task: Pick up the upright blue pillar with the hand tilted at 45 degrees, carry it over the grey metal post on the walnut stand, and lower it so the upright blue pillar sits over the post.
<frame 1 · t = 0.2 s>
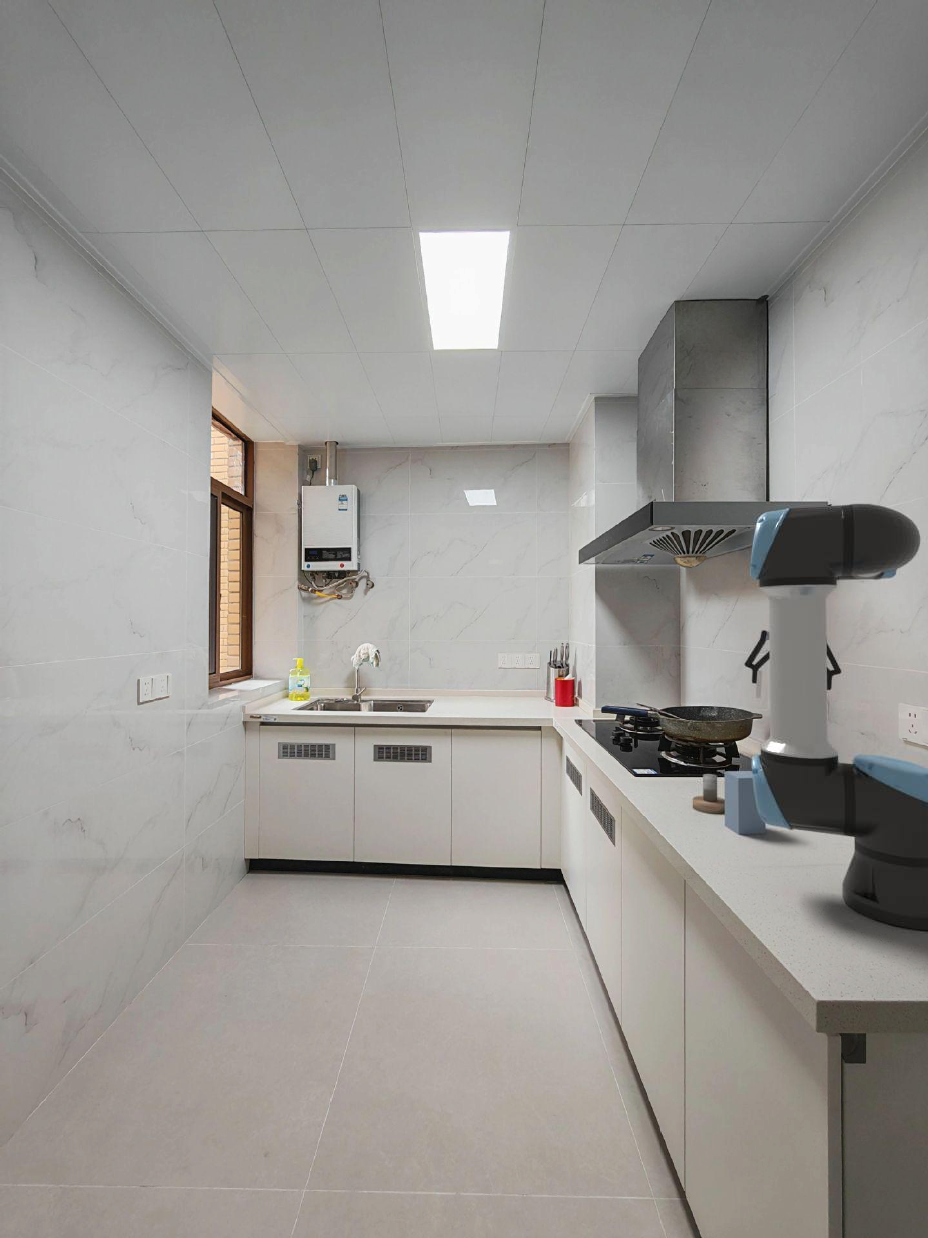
hand: (789, 701, 147), 27 cm above the worktop, tool pointing down, fingers open, 13 cm apart
upright blue pillar: (744, 829, 136), on the worktop
post stand: (710, 808, 151), on the worktop
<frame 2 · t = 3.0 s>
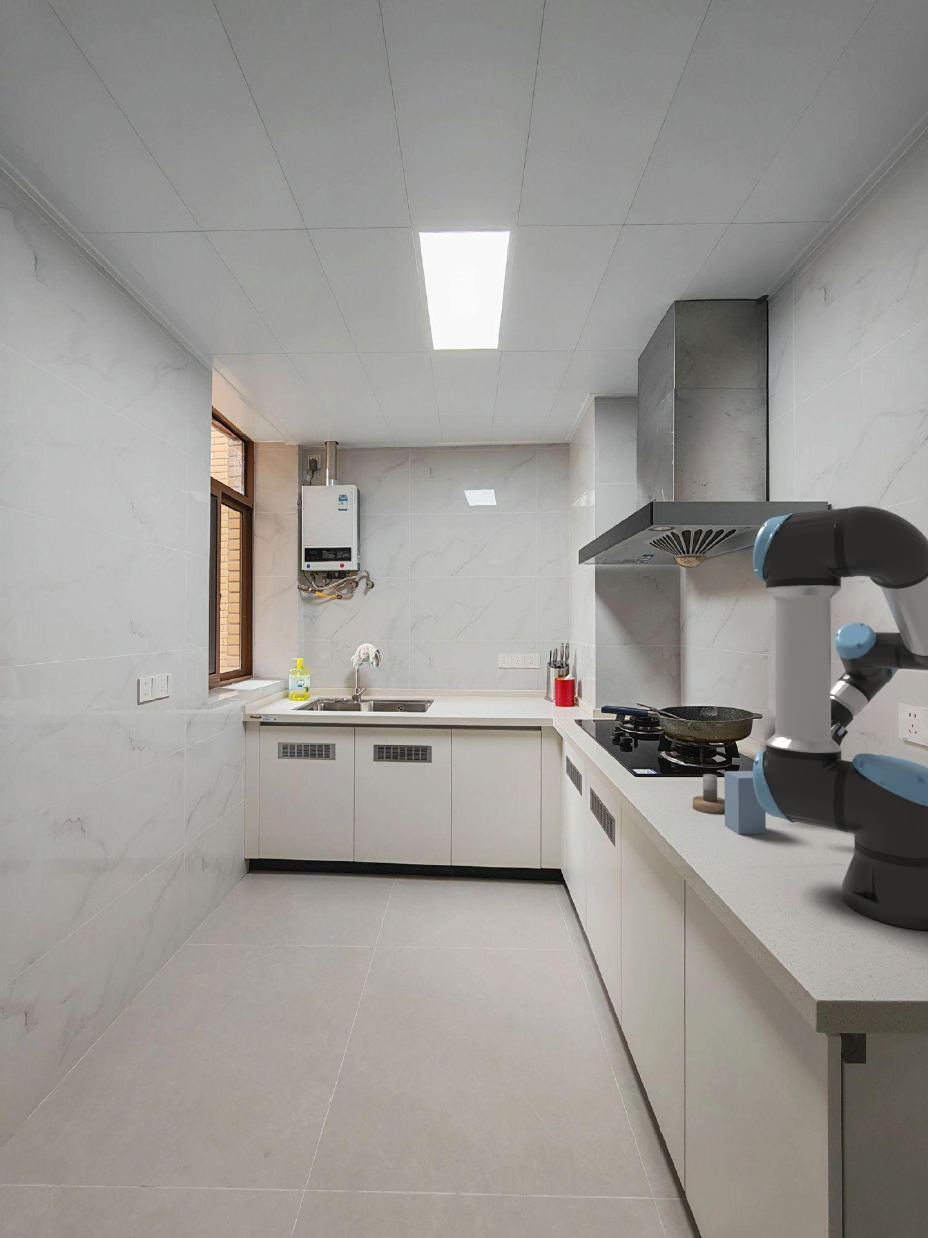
hand: (774, 776, 137), 11 cm above the worktop, tool tilted 45°, fingers open, 13 cm apart
nothing on the worktop moved.
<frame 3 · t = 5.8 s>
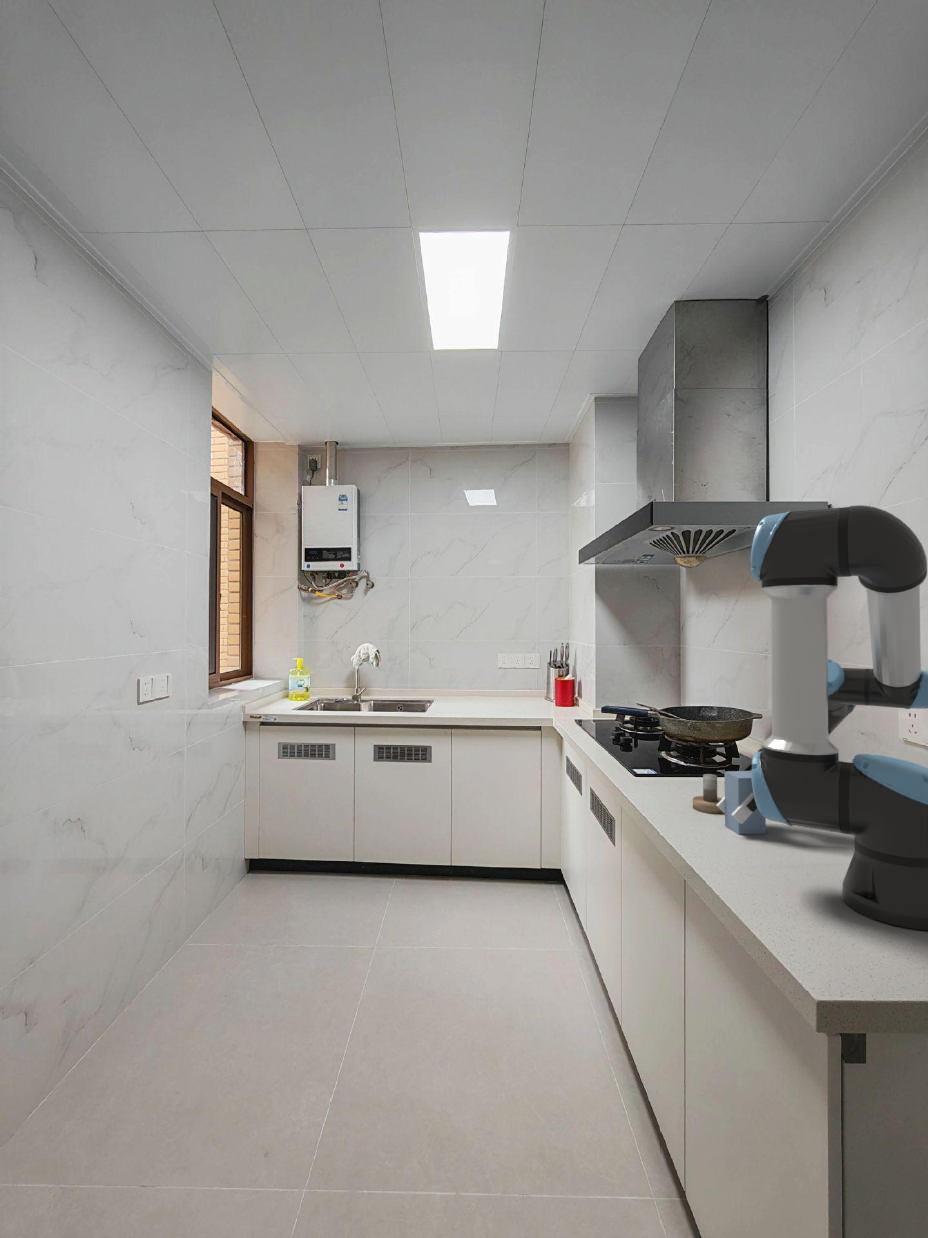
hand: (728, 814, 136), 3 cm above the worktop, tool tilted 45°, fingers closed on upright blue pillar, 6 cm apart
upright blue pillar: (744, 829, 136), on the worktop, touching gripper
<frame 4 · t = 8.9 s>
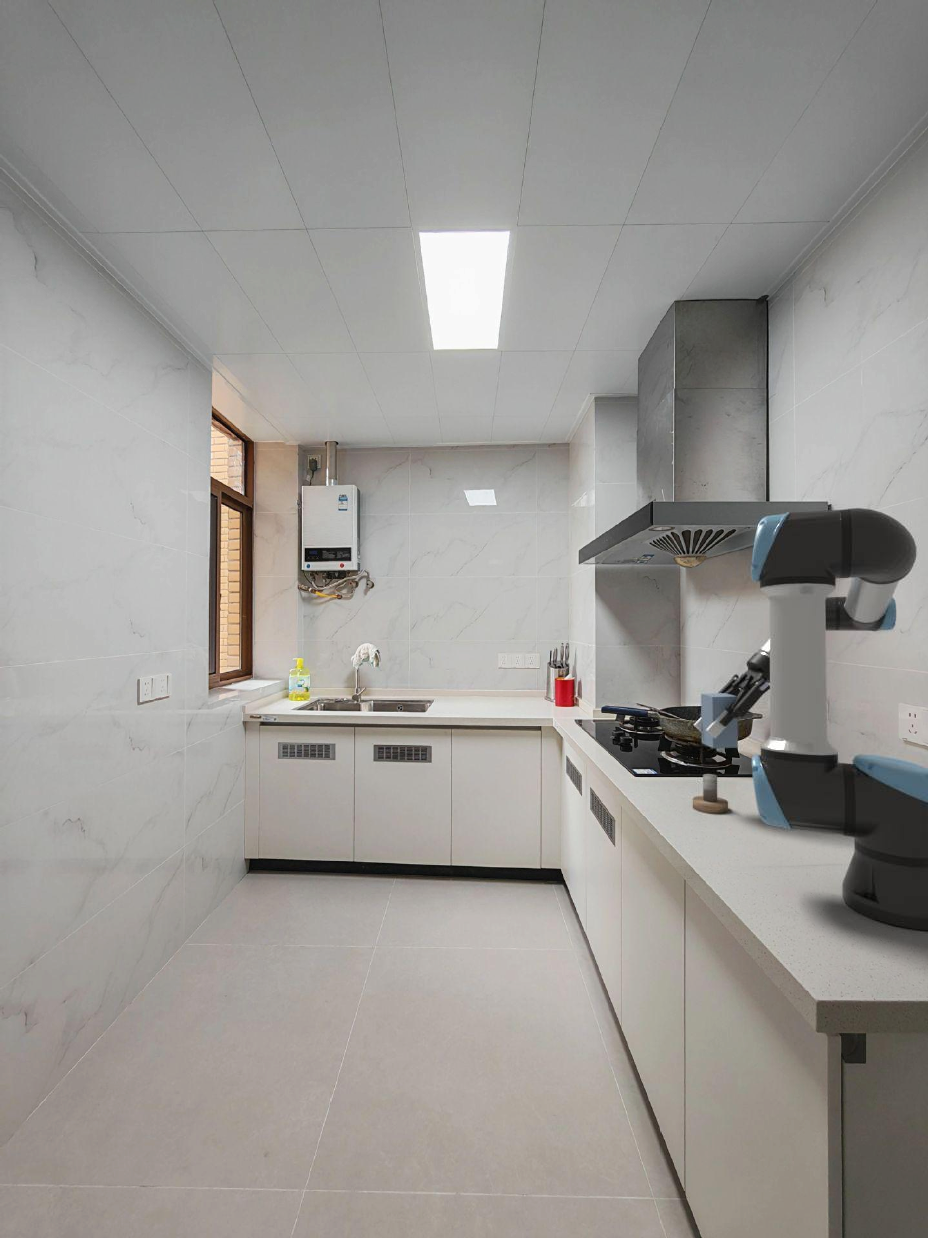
hand: (704, 731, 148), 19 cm above the worktop, tool tilted 45°, fingers closed on upright blue pillar, 6 cm apart
upright blue pillar: (719, 745, 148), point 16 cm above the worktop, touching gripper
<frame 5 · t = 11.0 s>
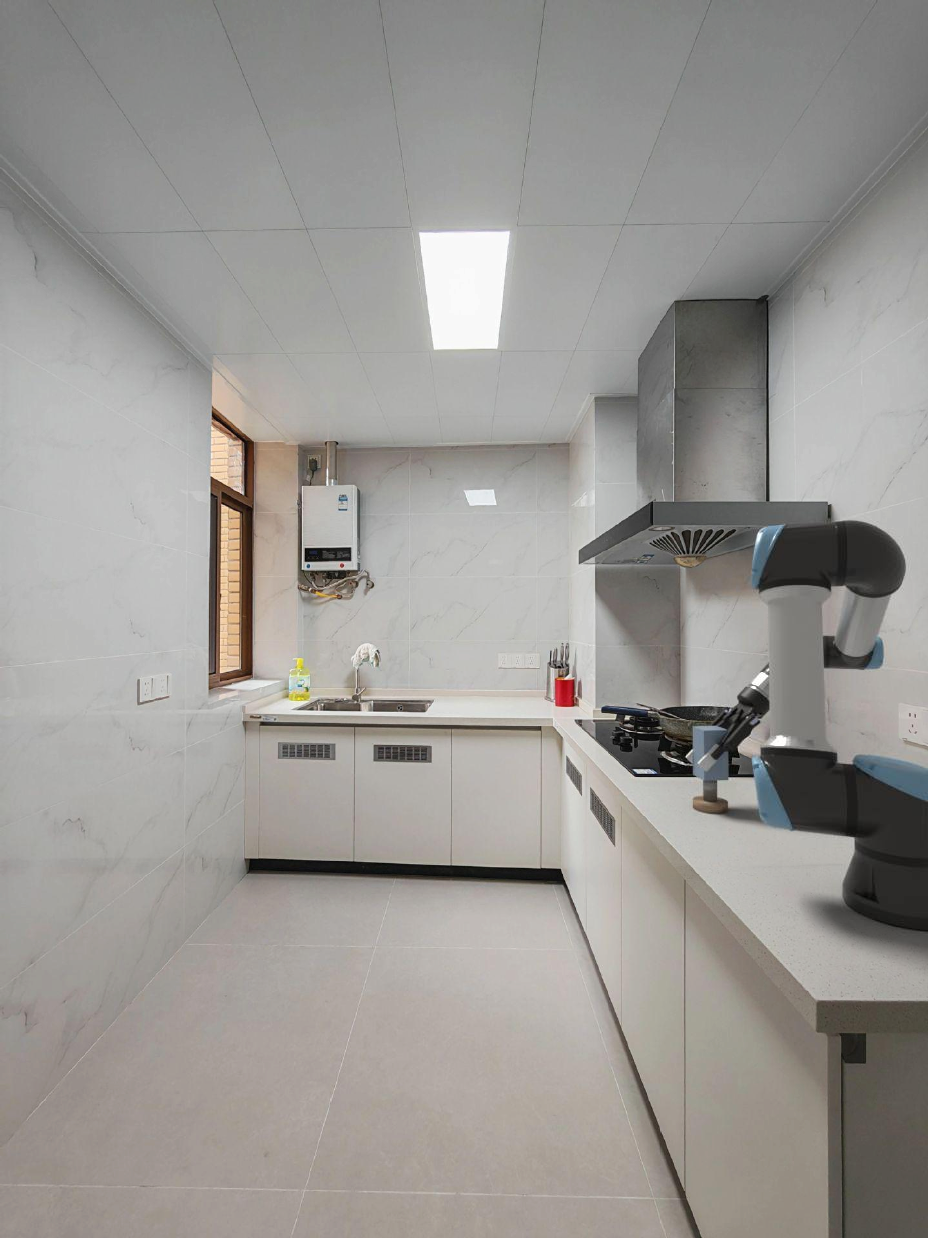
hand: (695, 763, 151), 11 cm above the worktop, tool tilted 45°, fingers closed on upright blue pillar, 6 cm apart
upright blue pillar: (710, 777, 151), point 7 cm above the worktop, touching gripper
when the fingers open (6 cm above the worktop, at t = 12.4 s): upright blue pillar stays where it is, resting on post stand.
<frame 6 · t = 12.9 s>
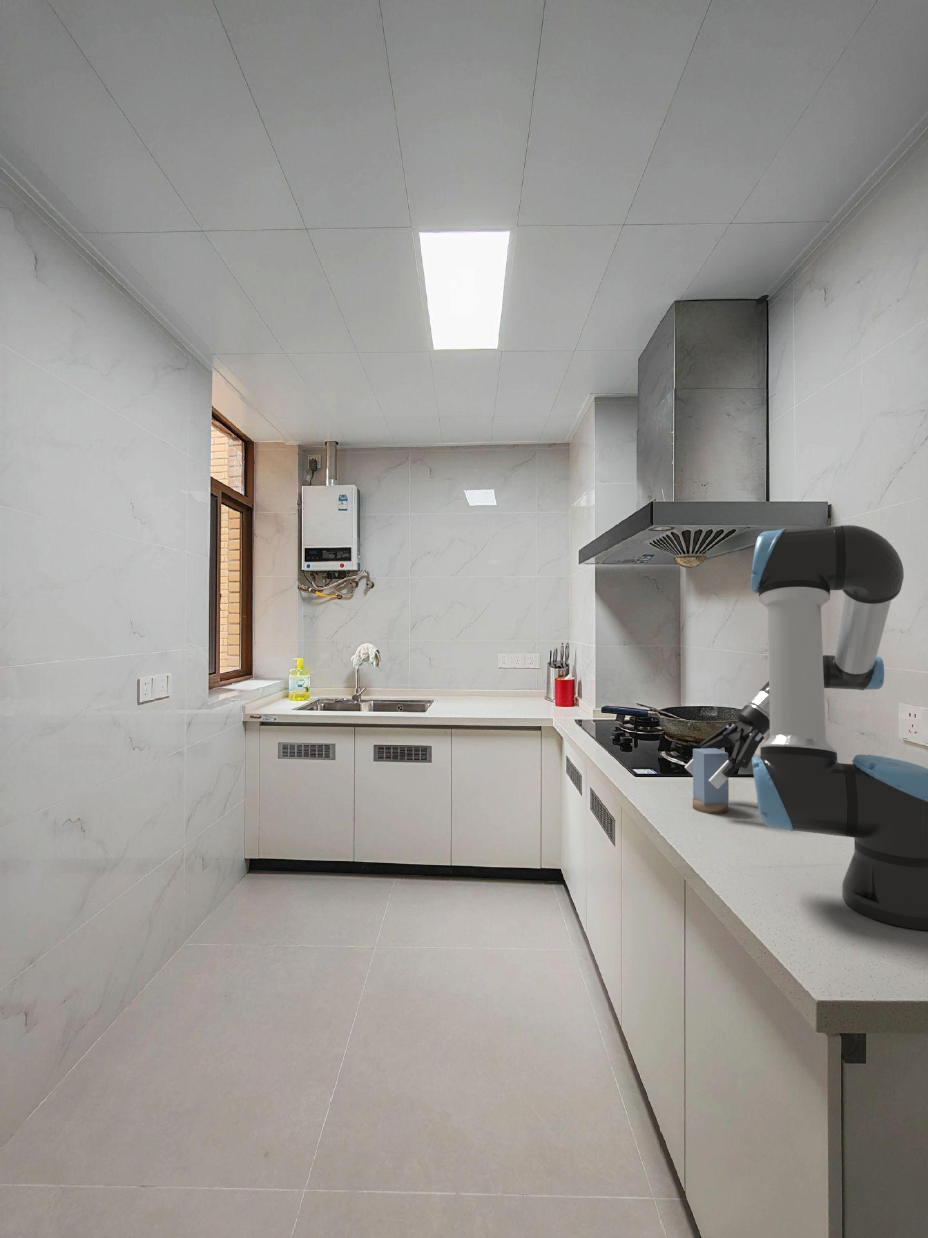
hand: (700, 777, 151), 8 cm above the worktop, tool tilted 45°, fingers open, 12 cm apart
upright blue pillar: (710, 800, 151), point 2 cm above the worktop, touching post stand
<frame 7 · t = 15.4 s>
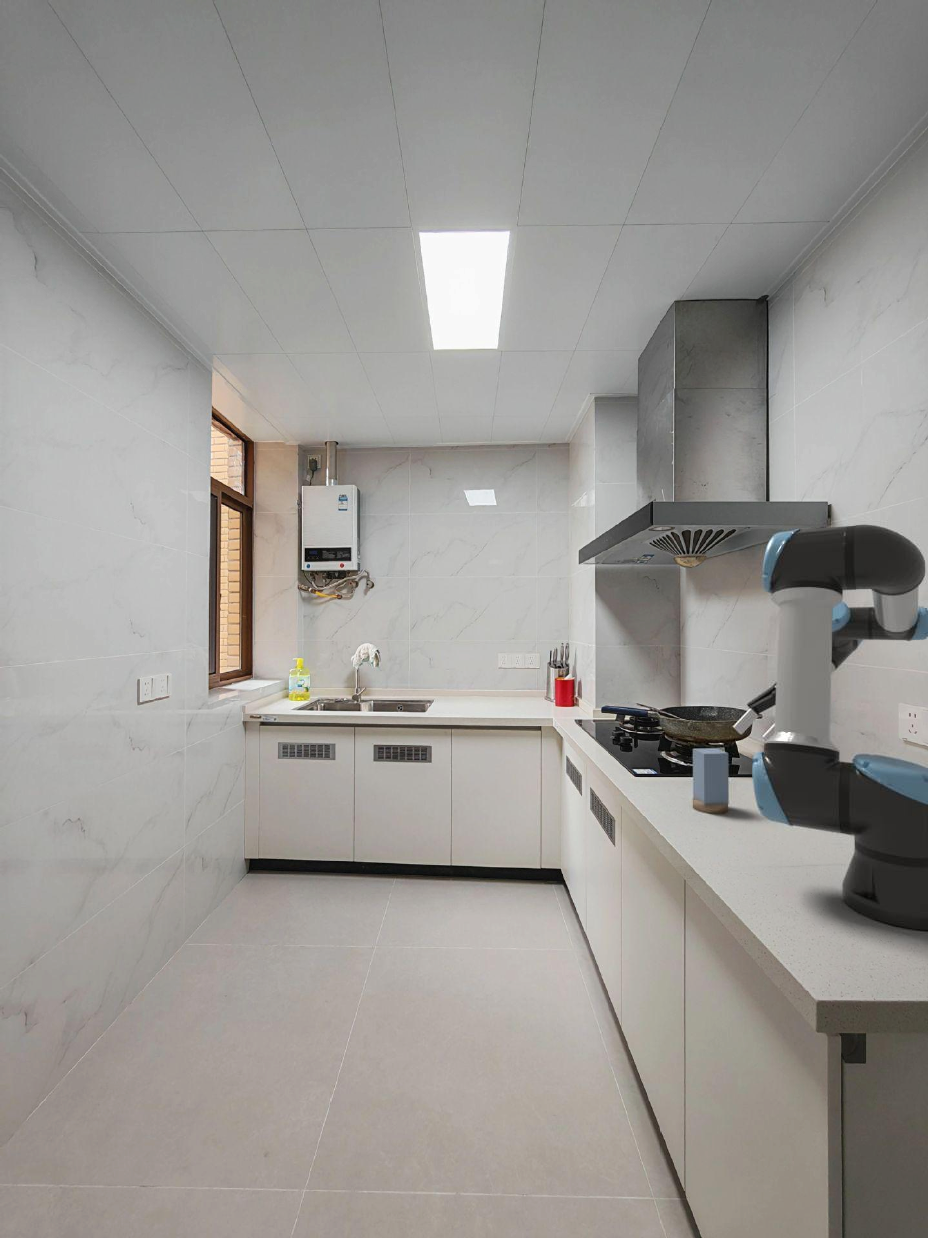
hand: (751, 735, 152), 18 cm above the worktop, tool tilted 45°, fingers open, 13 cm apart
nothing on the worktop moved.
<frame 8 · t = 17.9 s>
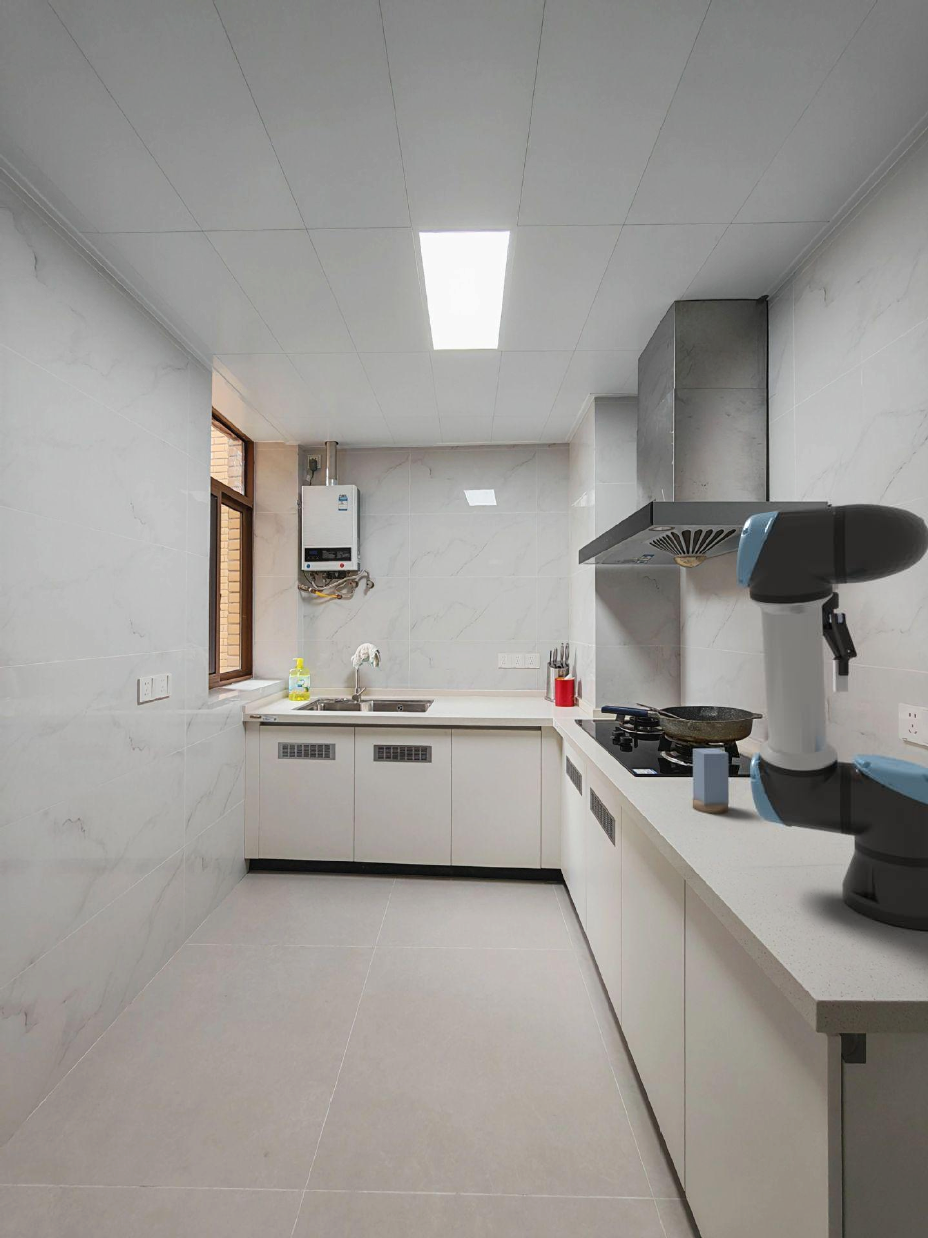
hand: (819, 688, 137), 31 cm above the worktop, tool pointing down, fingers open, 13 cm apart
nothing on the worktop moved.
at the end: upright blue pillar 0.1 cm from the post stand (horizontally); upright blue pillar 0.1 cm off-centre on the post stand, point 2.0 cm above the post stand's base; upright blue pillar tilted 0° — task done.
